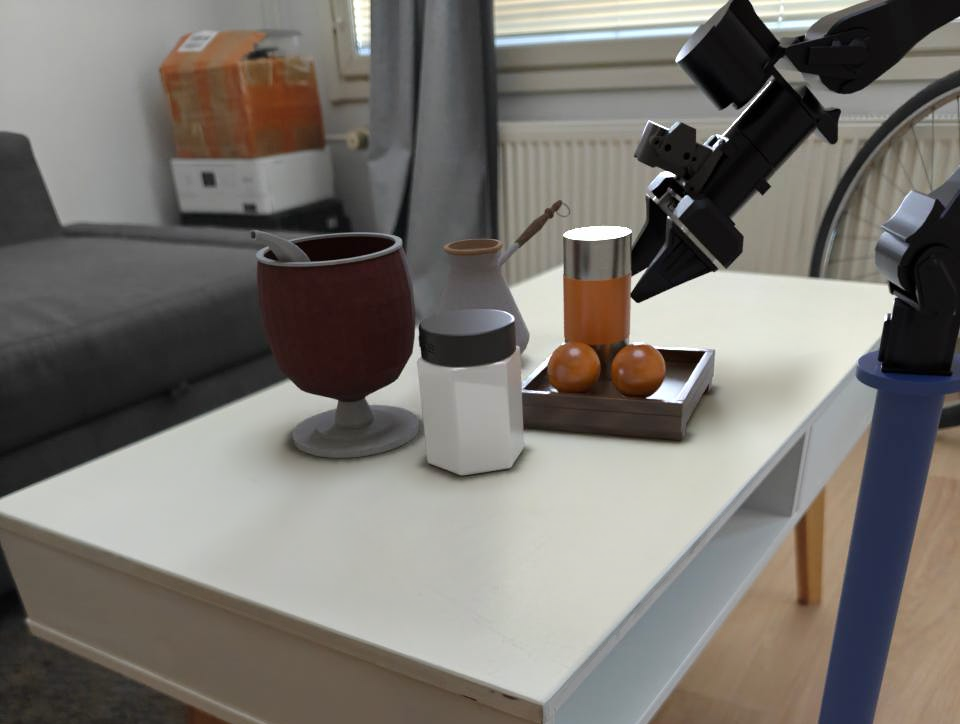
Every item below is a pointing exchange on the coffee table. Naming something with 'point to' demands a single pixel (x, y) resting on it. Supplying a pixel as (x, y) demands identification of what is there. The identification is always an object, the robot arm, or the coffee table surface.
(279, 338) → the mate gourd
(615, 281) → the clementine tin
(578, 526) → the coffee table surface
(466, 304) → the coffee pot
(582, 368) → the fruit tray
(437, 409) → the jar
